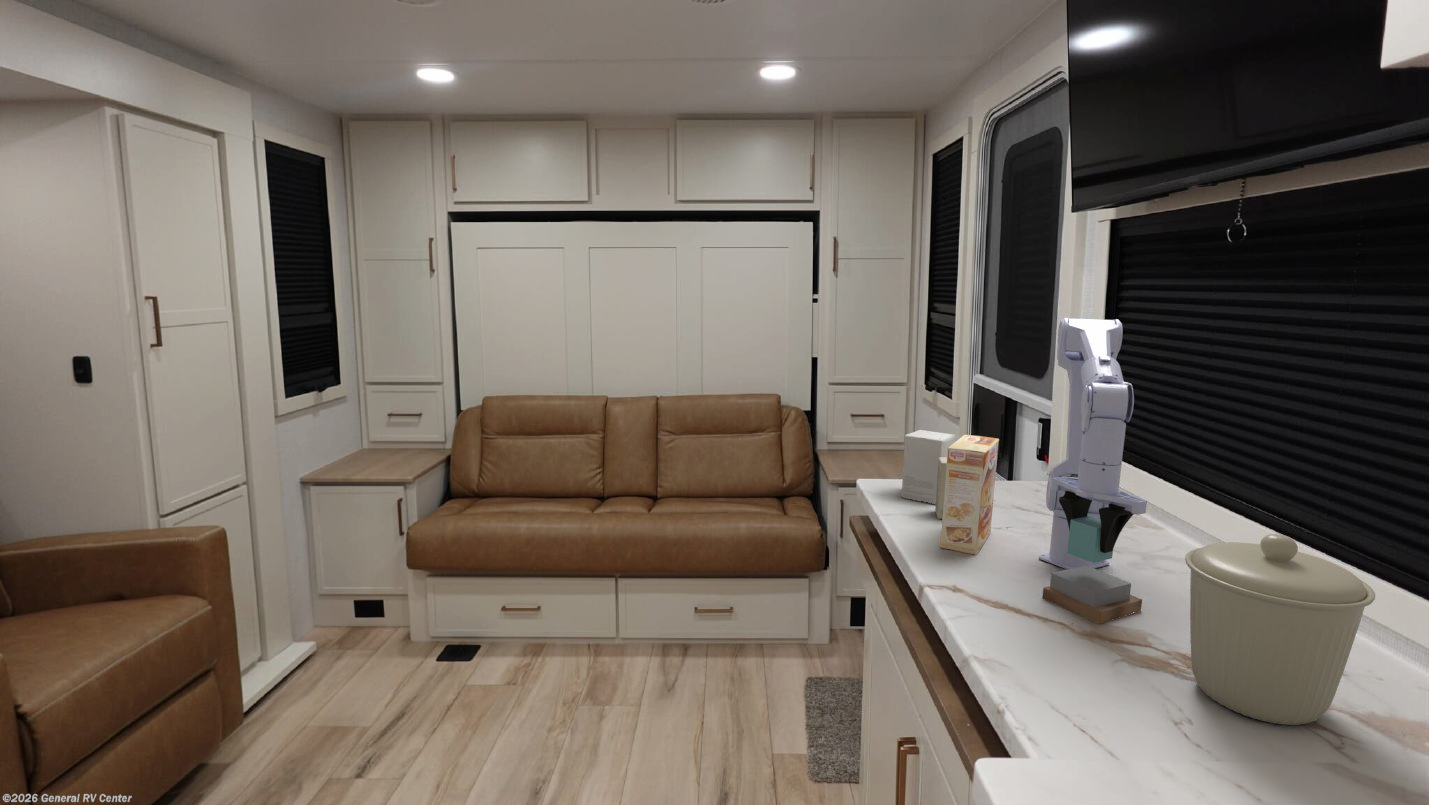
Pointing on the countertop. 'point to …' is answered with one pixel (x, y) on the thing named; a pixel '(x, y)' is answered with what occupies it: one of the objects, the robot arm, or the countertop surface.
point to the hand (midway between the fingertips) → (1091, 546)
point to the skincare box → (940, 486)
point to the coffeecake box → (969, 493)
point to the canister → (1272, 627)
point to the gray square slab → (1090, 586)
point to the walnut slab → (1096, 613)
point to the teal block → (1086, 539)
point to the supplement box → (923, 463)
